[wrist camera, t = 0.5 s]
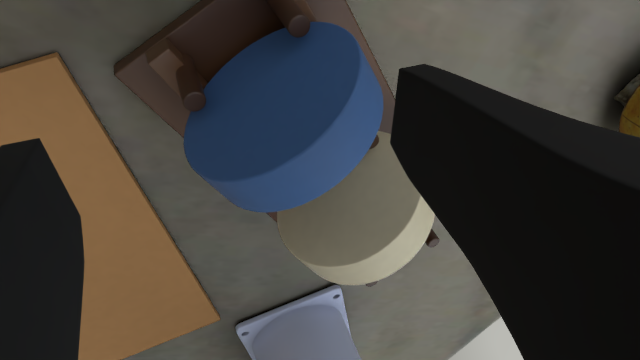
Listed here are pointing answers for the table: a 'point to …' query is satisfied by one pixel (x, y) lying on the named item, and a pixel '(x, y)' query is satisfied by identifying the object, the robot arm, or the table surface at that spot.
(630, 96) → the decorative figurine
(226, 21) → the rack
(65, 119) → the mat
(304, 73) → the blue disc
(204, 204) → the table surface
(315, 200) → the cream disc
